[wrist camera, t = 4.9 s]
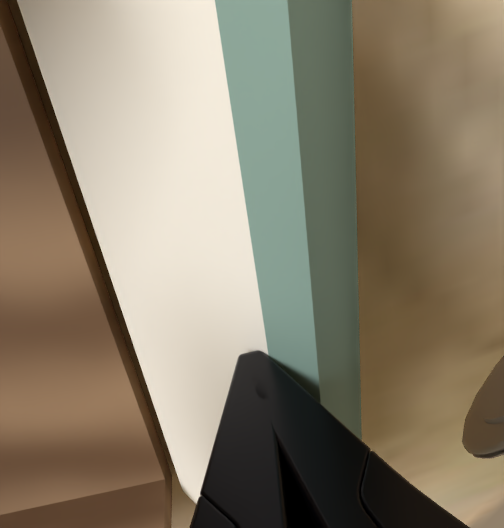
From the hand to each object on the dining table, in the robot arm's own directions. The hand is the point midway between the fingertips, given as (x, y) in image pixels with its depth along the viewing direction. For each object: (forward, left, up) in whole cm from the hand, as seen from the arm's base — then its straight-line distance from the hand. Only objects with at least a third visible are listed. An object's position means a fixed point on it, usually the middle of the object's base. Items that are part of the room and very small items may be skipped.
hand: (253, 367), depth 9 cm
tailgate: (0, +3, -5) cm, 6 cm away
